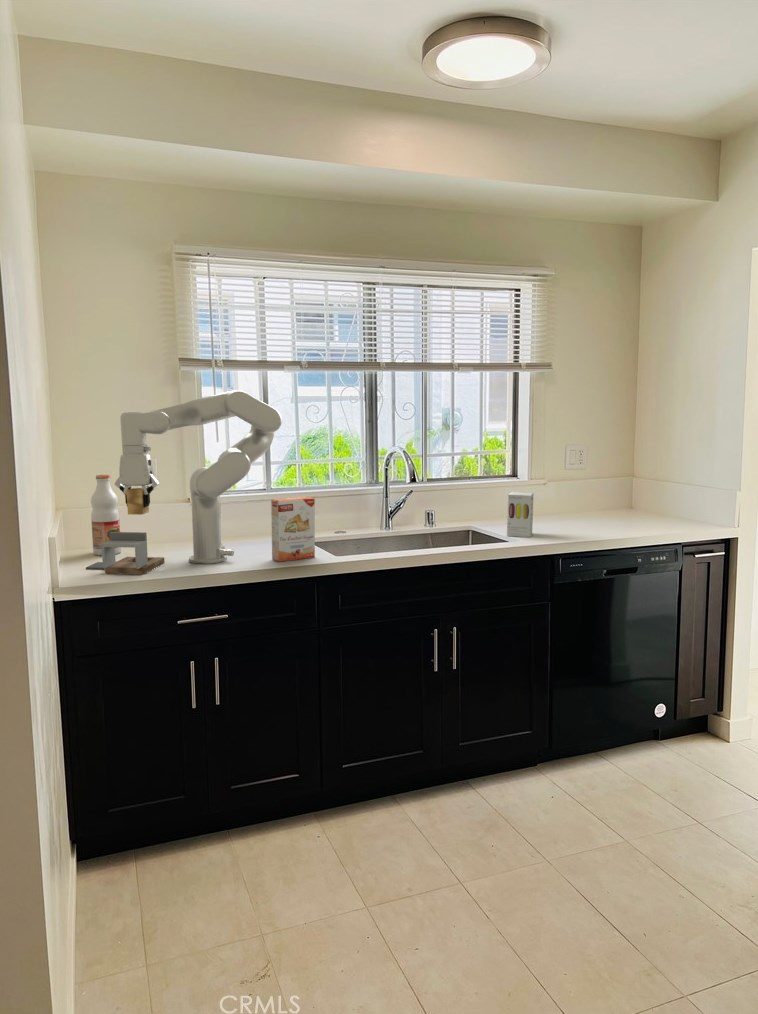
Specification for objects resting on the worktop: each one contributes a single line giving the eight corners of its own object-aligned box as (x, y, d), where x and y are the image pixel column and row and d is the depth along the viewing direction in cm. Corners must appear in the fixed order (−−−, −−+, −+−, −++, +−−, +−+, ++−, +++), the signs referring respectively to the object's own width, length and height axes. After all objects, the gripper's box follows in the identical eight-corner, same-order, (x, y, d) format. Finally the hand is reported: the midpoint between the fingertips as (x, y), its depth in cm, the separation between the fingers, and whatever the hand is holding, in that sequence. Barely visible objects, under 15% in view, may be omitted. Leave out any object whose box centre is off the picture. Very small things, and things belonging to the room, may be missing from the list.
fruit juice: (98, 550, 272) (94, 474, 268) (124, 550, 272) (120, 473, 268) (89, 556, 262) (84, 476, 258) (116, 555, 262) (111, 476, 258)
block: (149, 512, 246) (147, 488, 245) (142, 514, 241) (141, 489, 240) (134, 512, 247) (133, 488, 246) (127, 514, 242) (126, 489, 241)
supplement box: (506, 536, 297) (507, 494, 295) (509, 532, 306) (510, 491, 304) (530, 537, 294) (531, 495, 292) (532, 533, 303) (533, 492, 301)
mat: (120, 564, 249) (120, 562, 249) (109, 569, 241) (109, 567, 241) (97, 563, 250) (97, 562, 250) (85, 569, 242) (85, 567, 242)
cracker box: (279, 562, 251) (277, 500, 248) (271, 559, 256) (270, 498, 253) (316, 557, 258) (315, 497, 255) (307, 554, 263) (306, 495, 260)
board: (164, 563, 250) (164, 557, 250) (144, 574, 235) (144, 567, 234) (127, 562, 252) (127, 556, 251) (105, 573, 236) (104, 567, 236)
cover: (147, 563, 239) (146, 532, 237) (138, 568, 232) (136, 536, 230) (113, 563, 240) (111, 531, 239) (102, 568, 233) (101, 535, 232)
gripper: (164, 449, 244) (167, 504, 247) (114, 449, 246) (118, 504, 248) (155, 451, 237) (158, 508, 239) (104, 451, 238) (107, 507, 241)
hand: (138, 505), depth 244 cm, fingers closed on block, 4 cm apart
